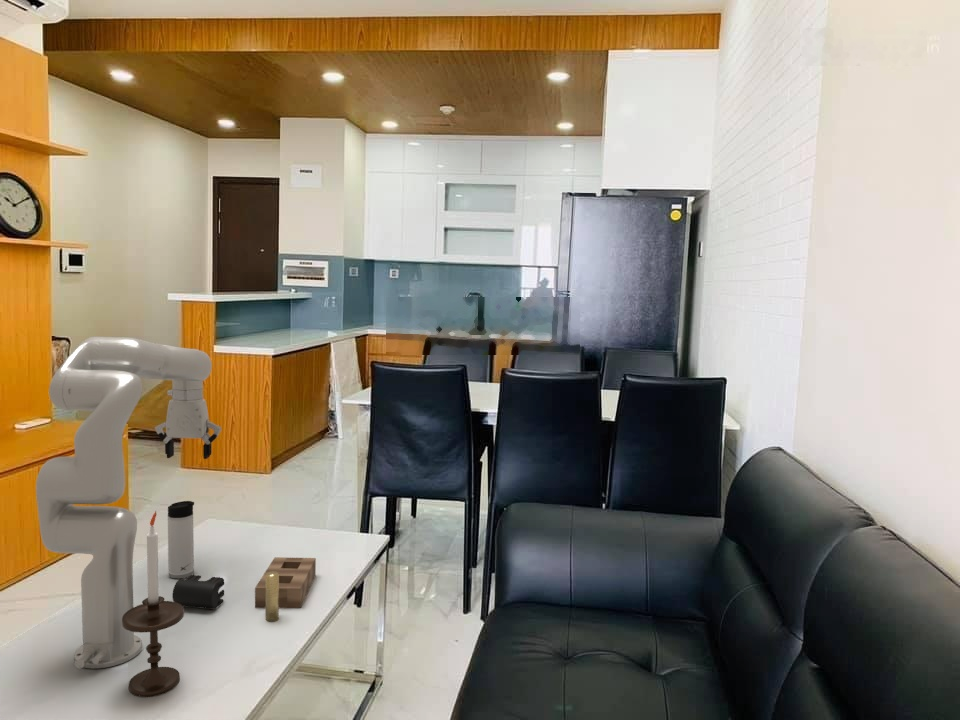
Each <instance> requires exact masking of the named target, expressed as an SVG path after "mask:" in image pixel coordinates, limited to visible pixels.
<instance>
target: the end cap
mask: <svg viewBox="0 0 960 720" xmlns="http://www.w3.org/2000/svg"><path fill="white" fill-rule="evenodd" d="M201 578H202V575H197V574H196V575H195V574H193V575H190V576H189V577H187V578H183V579H177V581H176V582H175V584H174V586H173V590H172V602H176V603H179V604H181V605H182V606H183V607H185V606H187V608H196V609H197V608H198V609H209V610H216V609H217V608H219V607H220V606H221V604H223V603H224V599H223V597H224V596H225V589H222V590H221V591H219V590H220V589H221V588H222V587H223V586H224V585H225V579H224V578H223V577H220V576H218V577H217V576H211V577H210V578H209V579H207V580H200V579H201Z"/></svg>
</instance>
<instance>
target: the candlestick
mask: <svg viewBox="0 0 960 720" xmlns="http://www.w3.org/2000/svg"><path fill="white" fill-rule="evenodd" d="M156 518H157V510H155V511H154V513H153V514H152V517H151V519H150V521H149V525H150V527H149V528H150V529H149V532H148V533H146V555H147V556H146V560H147V561H146V563H147V564H146V565H147V566H146V567H147V573H146V574H147V598H144V599H143V600H142V601H141V604H139V605H136V606H133V608H132V609H130V610H128V611H127V612H126V613H125V614H124V615H123V617H122V625H123V627H124V628H125V629H126V630H129V631H132V632H134V633H140V634H141V633H149V642H150V643H149V644H148V645H147V646H146V647H145V649H146V652H147V654H149V657H148V658H147V663H148V664H150V668H147V669H144V670H142V671H140V672H138V673H136V674H135V675H133V676H132V678H130V680H129V681H128V690H129V693H130V694H131V695H133V696H135V697H138V698H139V697H140V698H152V697H157V696H160V695H163V694H166V693H168V692H170V691H172V690H174V689H175V688H176V687H177V685H178V684H179V683H180V680H181V679H180V678H181V677H180V675H181V673H180V672H179V670H178V669H176V668H174V667H172V666H171V667H170V666H159V663H160V661H161V660H162V656H161V655H160V654H159V653H160V652H161V651H162V648H163V645H162V643H161V642H159V640H158V639H159V637H158V635H159V633H158V631H162V630H165V629H168V628H170V627H171V628H172V626H175V625H176V624H179V623H180V621H181V620H183V618H184V617H185V608H184V606H182V605H181V604H179V603H176V602H174V601H173V600H165V597H164V596H161V595H159V593H160V592H159V547H158V546H159V545H158V543H159V541H158V532H157V531H155V527H154V525H155V521H156Z"/></svg>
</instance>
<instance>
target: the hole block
mask: <svg viewBox="0 0 960 720" xmlns="http://www.w3.org/2000/svg"><path fill="white" fill-rule="evenodd" d="M316 563H317V559H316V557H280V556H279V557H273V559H272V561H271V562H270V564H269V566H268V567H267V568H266V570H265V571H264V573H263V575H262V577H261V578H260V579H259V581H258V583H257V584H256V586H255V588H254V608H259V609H261V608H263V609H264V608H265V602H266V573H268V572H271V571H276V572H278V573H279V609H280V608H281V609H302V605H303V604H304V602H305V601H306V600H305V599H306V598H307V595H308V593H309V591H310V588H311V586H312V584H313V582H314V580H315V577H316V572H317V571H316V570H317V569H316V566H317V564H316Z"/></svg>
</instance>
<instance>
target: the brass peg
mask: <svg viewBox="0 0 960 720" xmlns="http://www.w3.org/2000/svg"><path fill="white" fill-rule="evenodd" d="M279 609H280V608H279V573H278V572H276V571H271V572H268V573H266V602H265V613H264V615H265V618H264V619H265V621H266V622H270V623H272V622H276V621H278V620H279V619H280V618H279V617H280V615H279V613H280V610H279Z"/></svg>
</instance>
